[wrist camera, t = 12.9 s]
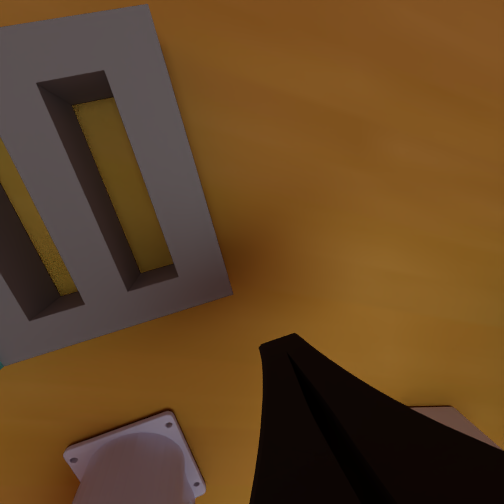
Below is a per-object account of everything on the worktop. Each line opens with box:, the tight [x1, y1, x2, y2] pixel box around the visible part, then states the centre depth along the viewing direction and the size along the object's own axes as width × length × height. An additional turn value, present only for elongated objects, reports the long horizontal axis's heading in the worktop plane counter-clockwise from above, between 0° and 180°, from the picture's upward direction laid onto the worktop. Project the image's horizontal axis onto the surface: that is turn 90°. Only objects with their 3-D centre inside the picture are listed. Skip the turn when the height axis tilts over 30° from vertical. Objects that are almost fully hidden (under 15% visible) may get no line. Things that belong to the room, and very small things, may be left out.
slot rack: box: [0, 4, 233, 369], centre depth 13 cm, size 14×18×3 cm
